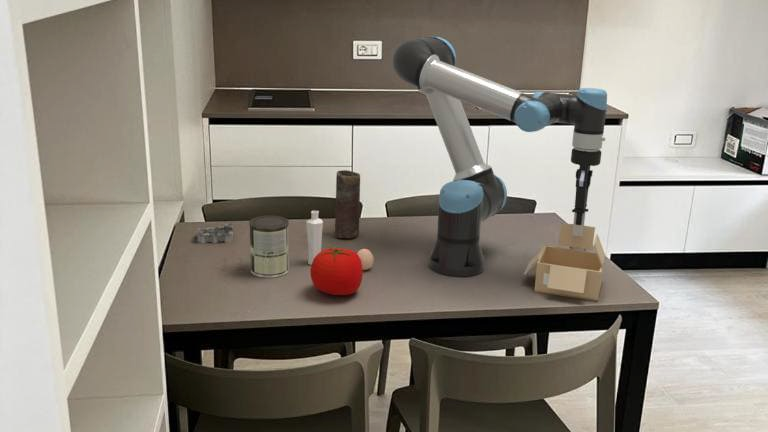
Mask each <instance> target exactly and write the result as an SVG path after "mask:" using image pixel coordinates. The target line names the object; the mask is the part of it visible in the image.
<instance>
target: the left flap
mask: <svg viewBox="0 0 768 432" xmlns="http://www.w3.org/2000/svg"><path fill="white" fill-rule="evenodd" d="M543 249H544V247H542V248H541V249H540V250H539V251H538V252H537V253H536V255H535V256H534V257H533V258H532V259H531V260H530V261H529V262H528V264H527V266H526V269H525V271H524V272H523V275H524V276H525V275H526V274H528V273H529V271H530V270H531V269H532V267H534V265H535V264H537V262H538V260H539V258H540V255H541V253H542V251H543Z"/></svg>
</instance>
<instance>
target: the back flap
mask: <svg viewBox="0 0 768 432" xmlns="http://www.w3.org/2000/svg"><path fill="white" fill-rule="evenodd" d="M595 230H596V227H595V226H589V225H584V230H583V237H580V236H572V232H573V223H565V222H560V227H559V236H558V242H557V245H558V246H565V247H569V248H570V247H578V248H585V249H587V250H593V248H594V240H595V232H596V231H595Z"/></svg>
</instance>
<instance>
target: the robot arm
mask: <svg viewBox="0 0 768 432" xmlns="http://www.w3.org/2000/svg"><path fill="white" fill-rule="evenodd" d="M391 57H392V58H391V66H392V69H393V72H394V73H395V75H396V76H397V78H399V79H400V80H401V81H403V82H404V83H407V84H409V85H411V86H413V87H416V88H417V90H418V92H420V93H421V94H423V95H425V96H426V99H427V101H428V103H429V107H430V109H431V112H432V115H433V116H434V120H435V122H436V125H437V128H438V130H439V133H440V135H441V137H442V141H443V143H444V145H445V149H446V152H447V154H448V157H449V159H450V162H451V165H452V167H453V171H454V172H455V175H454V177H453V180H452V181H449V182H446V183H445V184H444V185H442V187H441V188H440V191H439V197H438V199H437V200H438V201H437V202H438V211H437V212H438V213H437V216H438V217H437V234H436V240H435V244H434V245H433V249H432V251H431V253H430V256H429V265H428V266H429V268H430V270H432V271H435V272H436V273H439V274H442V275H445V276H451V277H471V276H476V275H478V274H480V273H482V272H483V271H484V269H485V259H484V255H483V250H482V246H481V244H480V236H481V224H482V223H483V222H485V221H486V220H488V219H490V218H491V217H494V216H495V215H496V214H498V213H499V212H500V211H501V210H502V209H503V208H504V206H505V204H506V202H507V197H508V192H507V191H508V189H507V187H506V185H505V182H504V181H503V179H502V178H500V177H499V176H497V175H496V174H495V173H494V171H493V167H492V166H491V165H489V164H487V163H485V162H484V159H483V156H482V154H481V151H480V149H479V146H478V143H477V140H476V137H475V135H474V132H473V130H472V127H471V125H470V121H469V120H468V117H467V115H466V111H465V109H464V106H463V103H466V104H469V105H470V106H473V107H476V108H478V109H481V110H483V111H486V112H487V113H491V114H493V115H496V116H499V118H500V117H501V118H503V119H505V120H508V121H510V122H513V123H515V124H516V126H517V127H518V128H519V129H520V130H521V131H523V132H525V133H534V132H538V131H541V130H543V129H544V128H546V127H549V126H551V125H553V124H555V123H556V124H557V123H559V124H569V125H573V133H572V143H571V146H572V147H573V148H572V149H571V155H570V162H571V163H572V164H574V165H578V166H579V167H578V168H577V169H576V171H575V179H576V180H575V198H574V199H575V200H574V209H572V210H571V213H574V214H573V223H572V224H573V232H572V236H580V237H583V230H584V226H585V221H586V219H585V218H586V213H588V212H589V209H588V208H587V206H588V204H587V203H588V195H589V189H590V186H591V180H592V177H593V172H594V170H593V169H591V167H597V166H598V165H600V164H601V162H602V161H601V159H602V151H601V149H602V148H603V142H605V141H606V137H603V136H604V132H605V131H604V129H605V123H606V116H607V110H608V106H607V105H608V104H607V103H608V93H607V91H606V90H605V89H602V88H596V87H595V88H592V87H590V88H589V87H581V88H579V89H578V90H577V93H576V94H566V93H559V92H558V93H557V92H549V91H536V92H534V93H533V94H532V96H531V95H528V94H525V93H523V92H522V91H518V90H516V89H513V88H511V87H508V86H506V85H503V84H500V83H497V82H496V81H493V80H490V79H488V78H485V77H483V76H480V75H477V74H475V73H472V72H470V71H467V70H466V69H462V68H459V67H457V66H456V62H457V54H456V50H455V49H454V47H453V45H452V44H451V43H450V42H449V41H448V40H446V39H444V38H443V37H439V36H431V35H430V36H425V37H420V38H412V39H408V40H405V41H403V42H401V43H400V44H399V45H398V46H397V47H396V48H395V49H394V52H393V54H392V56H391ZM462 102H463V103H462Z"/></svg>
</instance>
